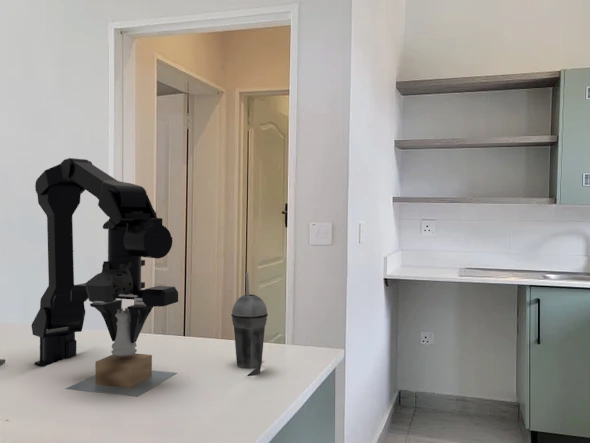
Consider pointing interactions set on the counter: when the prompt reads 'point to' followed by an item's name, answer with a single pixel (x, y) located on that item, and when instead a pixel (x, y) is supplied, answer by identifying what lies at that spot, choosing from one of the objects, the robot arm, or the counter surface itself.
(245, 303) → the beverage cup
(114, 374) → the base brick
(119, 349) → the rook chess piece
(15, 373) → the counter surface
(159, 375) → the build plate
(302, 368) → the counter surface
